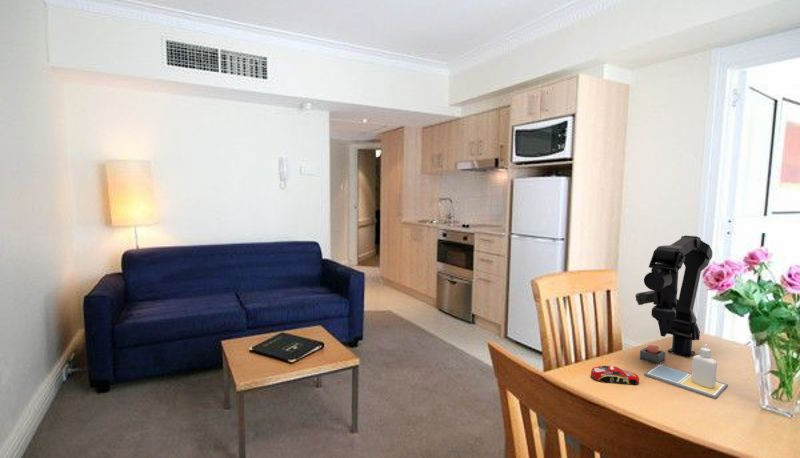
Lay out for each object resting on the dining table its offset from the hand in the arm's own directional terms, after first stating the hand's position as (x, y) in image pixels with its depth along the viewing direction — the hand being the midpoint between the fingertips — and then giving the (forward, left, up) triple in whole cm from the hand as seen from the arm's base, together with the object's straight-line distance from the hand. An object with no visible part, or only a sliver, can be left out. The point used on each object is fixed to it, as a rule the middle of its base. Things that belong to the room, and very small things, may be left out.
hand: (664, 332), depth 130 cm
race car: (+23, -5, -12) cm, 26 cm away
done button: (-2, -4, -8) cm, 9 cm away
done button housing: (-2, -4, -11) cm, 12 cm away
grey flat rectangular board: (+7, +8, -11) cm, 16 cm away
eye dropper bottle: (+7, +13, -11) cm, 18 cm away
